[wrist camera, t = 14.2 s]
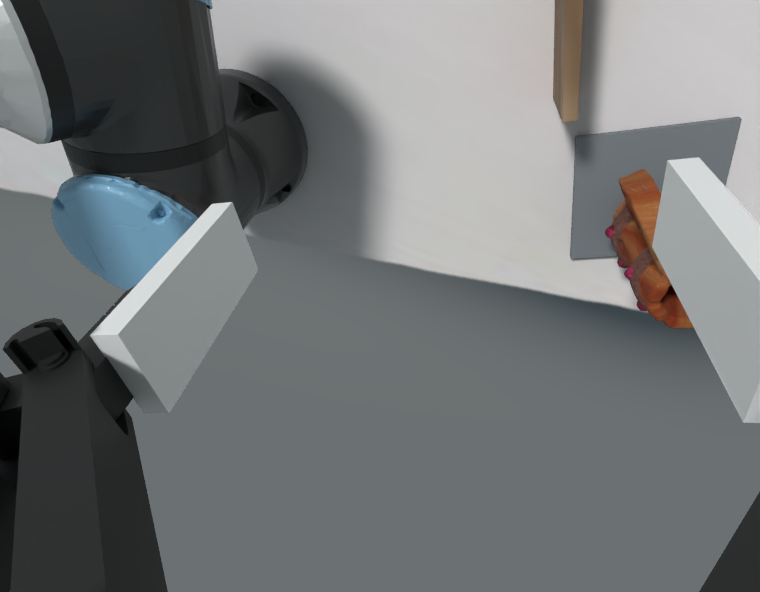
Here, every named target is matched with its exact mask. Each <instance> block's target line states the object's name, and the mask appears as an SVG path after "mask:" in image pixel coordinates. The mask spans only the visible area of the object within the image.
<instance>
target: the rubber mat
mask: <svg viewBox="0 0 760 592" xmlns="http://www.w3.org/2000/svg"><path fill="white" fill-rule="evenodd" d="M740 123H741V118H740V117H734V118H725V119H717V120H709V121H701V122H692V123H684V124H676V125H667V126H659V127H651V128H642V129H634V130H626V131H618V132H609V133H601V134H593V135H584V136H576V144H575V165H574V186H573V207H572V228H571V249H570V257H571V259H577V258H592V257H608V256H617V254H616V252H615V250H614V248H613V245H612V242H611V238H608V237H607V236H606V235H605V230H606V229H607V228H608V227H609V226H611V225H612V223H613V221H614V220H613V215H614V212H615V210H616V208H617V207H618V206H619V204H620V203H621V202H623V201H624V200H625V198H624V195H623V193H622V191H621V187H620V185H619V179H620V178H623V177H625V176H628V175H630V174H632V173H634V172H636V171H638V170H641V169H644V170H646V171H647V172H648V173H649V174H650V175H651V177H652V178H653V179H654V181H655V183H656V185H657V187H658V189H659V191H662V188H663V182H664V177H665V171H666V165H667V160H676V159H686V158H697V157H699V158H700V159H701V160H702V161H703V162H704V163H705V165H706V166H707V167H708V168H709V169H710V170H711V171H712V172H713V173H714V174H715V176H716V177H717V178H718V179H719V180H720V181H721V182H722V183H723V184H724V186H725V185H726V181H727V177H728V173H729V168H730V164H731V160H732V156H733V152H734V148H735V144H736V139H737V135H738V131H739V127H740Z"/></svg>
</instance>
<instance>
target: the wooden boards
mask: <svg viewBox="0 0 760 592" xmlns="http://www.w3.org/2000/svg"><path fill="white" fill-rule="evenodd" d="M583 4H584V0H555V28H554V79H553V99H554V102H555V104H556V107H557V109H558V112H559V115H560V117H561V120H562V122H570V121H577V120H578V106H579V86H580V65H581V45H582V25H583Z"/></svg>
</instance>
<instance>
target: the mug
mask: <svg viewBox="0 0 760 592" xmlns="http://www.w3.org/2000/svg"><path fill="white" fill-rule="evenodd" d="M619 185H620V187H621V191H622V193H623V195H624V198H625V200H624V201H623V202H621V203H620V204H619V206H618V207H617V208H616V210H615V212H614V215H613V220H614V221H613V223H612V225H611V226H609V227H608V228H607V229H606V230H605V235H606V236H607V237H608V238H611V242H612V245H613V248H614V250H615V252H616V254H617V256H618V257H619V259H618V262H617V263H618V265H619V267H622V268H627V267H629V268H628V269H627V270H626V271H625V273H624V275H625V276H626V278H628V279H629V280H630V284H631V287H632V289H633V292H634V294H635V296H636V298H637V300H638V302H637V307H638V308H639V309H640V310H641V311H647V310H648V312H649V314H650V315H651V316H653V317H654V318H655V319H656V320H657V321H664V323H665V325H667V326H669V327H671V328H681V329H686V328H694V327H693V325H692V323H691V321H690V319H689V317H688V315H687V313H686V311H685V309H684V307H683V305H682V304H681V302H680V300H679V298H678V296H677V294H676V292H675V290H674V288H673V286H672V284H671V282H670V280H669V278H668V277H667V275H666V273H665V271H664V269H663V267H662V265H661V263H660V261H659V259H658V257H657V255H656V253H655V251H654V250H653V248H652V244H653V238H654V233H655V227H656V222H657V216H658V210H659V205H660V199H661V193H662V191H659V189H658V187H657V185H656V183H655V181H654V179H653V178H652V177H651V175H650V174H649V173H648V172H647V171H646V170H644V169H641V170H638V171H636V172H634V173H632V174H630V175H628V176H625V177H623V178H620V179H619Z"/></svg>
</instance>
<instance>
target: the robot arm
mask: <svg viewBox="0 0 760 592" xmlns="http://www.w3.org/2000/svg"><path fill="white" fill-rule="evenodd" d="M210 9H212V2H211V0H0V128H5V129H7V130H9V131H11V132H13V133H15V134H18V135H20V136H22V137H24V138H26V139H28V140H30V141H32V142H34V143H36V144H45V143H50V142H55V141H59V140H61V141H62V144H63V147H64V150H65V152H66V155H67V158H68V161H69V164H70V166H71V169H72V172H73V176H74V177H72V178H70V179H68V180H67V181H65V182H64V183H63V184H62V185H61V186H60V188H59V191H58V193H57V197H56V198H55V199H54V200H53V203H52V210H51V212H52V219H53V224H54V227H55V229H56V231H57V233H58V235H59V237H60V239H61V240H62V242H63V243H64V245H65V246H66V248H67V249H68V250H69V251H70V253H71V254H72V255H73V256H74V257H75V258H76V259H77V260H78V261H79V262H80V263H81V264H83V265H84V266H85V267H86V268H87V269H89V270H90V271H91V272H93V273H94V274H96V275H98V276H100V277H102V278H103V279H104V280H106V281H107V282H108V283H110V284H112V285H114V286H116V287H118V288H121V289H123V290H126V292H125V293H124V294H123V295H122V296H121V297H120V298H119V300H118V301H117V302H116V303H115V306H112V307H111V308H110V309H109V310H108V311H107V312H106V315H103V317H102V318H101V319H100V320H99V321H98V322H97V323H96V324H95V325H94V326H93V327H92V328H91V329H90V330H89V331H88V333H87V334H86V335H85V336H84V337H83V338H82V339H81V340H80V341H79V342H78V343H77V341H76V340H75V338H74V337H73V336H72V334H71V333H70V332H69V330H68V329H67V327H66V326H65V325H64V323H63V322H62V320H60V319H55V318H52V319H45V320H41V321H38V322H35V323H33V324H31V325H29V326H27V327H25V328H23V329H21V330H20V331H19V332H17V333H16V334H14V335H13V336H12V337H11V338H10V339H9V340H8V341H7V342H6V343H5V345H4V348H3V350H4V352H5V353H6V354H7V355H8V356H9V357H10V359H11V360H12V361H13V362H14V363H15V364H16V366H17V367H18V368H19V369H20V370H21V371H22V373H23V374H19V375H15V376H11V377H8V378H5V377H4V376H3V375H2V374H1V373H0V592H168V591H167V586H166V582H165V576H164V571H163V567H162V562H161V557H160V552H159V547H158V542H157V538H156V533H155V529H154V523H153V518H152V514H151V509H150V504H149V499H148V494H147V489H146V484H145V480H144V475H143V470H142V465H141V460H140V455H139V451H138V446H137V441H136V436H135V431H134V427H133V422H132V418H131V416H130V415H129V413H128V412H127V410H126V409H125V408H126V407H127V406H128V404H129V403H130V401H131V400H132V399H133V398H134V399H135V401H136V403H137V404H138V405H139V407H140V408H141V410H142V411H143V413H170V411H171V409H172V408H173V406H174V405H175V403H176V401H177V399H178V398H179V397H180V395H181V393H182V392H183V390H184V389H185V387H186V385H187V384H188V382H189V381H190V379H191V377H192V376H193V374H194V373H195V371H196V369H197V368H198V366H199V365H200V363H201V361H202V360H203V358H204V357H205V355H206V353H207V352H208V350H209V349H210V347H211V345H212V344H213V342H214V341H215V339H216V337H217V336H218V334H219V333H220V331H221V329H222V328H223V326H224V325H225V323H226V321H227V320H228V318H229V317H230V315H231V313H232V312H233V310H234V308H235V307H236V305H237V304H238V302H239V301H240V299H241V297H242V296H243V294H244V292H245V291H246V289H247V288H248V286H249V285H250V283H251V281H252V280H253V278H254V276H255V275H256V273H257V272H258V267H257V265H256V262H255V259H254V257H253V254H252V252H251V249H250V246H249V244H248V241H247V239H246V236H245V233H244V231H243V230H244V228H245V227H246V226H247V224H248V223H249V222H250V220H251V219H252V218H253V216H254V215H256V214H258V213H261V212H263V211H266V210H268V209H271V208H273V207H275V206H277V205H279V204H280V203H282V202H283V201H284V200H285V199H286V198H288V197H289V196H290V194H291V193H292V192H293V191H294V189H295V188H296V186H297V185H298V183H299V182H300V180H301V178H302V176H303V174H304V171H305V168H306V163H307V142H306V137H305V133H304V130H303V127H302V124H301V122H300V120H299V118H298V116H297V114H296V112H295V111H294V109H293V108H292V106H291V105H290V103H289V102H288V101H287V100H286V99H285V98H284V96H283V95H282V94H281V93H280V92H279V91H277V90H276V89H275V88H274V87H273V86H271V85H270V84H269V83H267V82H266V81H264V80H262V79H260V78H259V77H257V76H254V75H252V74H249V73H247V72H243V71H239V70H233V69H218V62H217V55H216V49H215V42H214V35H213V28H212V22H211V15H210ZM652 248H653V250H654V251H655V253H656V255H657V257H658V259H659V261H660V263H661V265H662V267H663V269H664V271H665V273H666V275H667V277H668V278H669V280H670V282H671V284H672V286H673V288H674V290H675V292H676V294H677V296H678V298H679V300H680V302H681V304H682V305H683V307H684V309H685V311H686V313H687V315H688V317H689V319H690V321H691V323H692V325H693V327H694V329H695V331H696V333H697V334H698V336H699V338H700V340H701V342H702V344H703V346H704V348H705V350H706V352H707V353H708V355H709V358H710V359H711V361H712V363H713V365H714V367H715V369H716V371H717V373H718V375H719V377H720V379H721V381H722V383H723V385H724V387H725V388H726V390H727V392H728V394H729V396H730V398H731V400H732V402H733V404H734V406H735V408H736V409H737V411H738V413H739V415H740V417H741V419H742V421H743V423H760V224H759V223H758V222H757V221H756V220H755V219H754V218H753V217H752V215H751V214H750V213H749V212H748V211H747V210H746V209H745V208H744V207H743V205H742V204H741V203H740V202H739V201H738V200H737V199H736V198H735V197H734V195H733V194H732V193H731V192H730V191H729V190H728V189H727V188H726V187H725V186H724V184H723V183H722V182H721V181H720V180H719V179H718V178H717V177H716V176H715V174H714V173H713V172H712V171H711V170H710V169H709V168H708V167H707V166H706V165H705V163H704V162H703V161H702V160H701V159H700V158H699V157H697V158H686V159H676V160H667V165H666V171H665V177H664V182H663V188H662V193H661V199H660V205H659V210H658V216H657V222H656V227H655V233H654V238H653V244H652ZM699 592H760V492H759V494H758V496H757V497H756V499H755V501H754V502H753V504H752V506H751V507H750V509H749V511H748V512H747V514H746V515H745V517H744V519H743V520H742V522H741V524H740V525H739V527H738V529H737V530H736V532H735V534H734V535H733V537H732V539H731V540H730V542H729V544H728V545H727V547H726V549H725V550H724V552H723V554H722V555H721V557H720V558H719V560H718V562H717V563H716V565H715V567H714V568H713V570H712V572H711V573H710V575H709V577H708V578H707V580H706V581H705V583H704V585H703V586H702V588H701V590H700V591H699Z"/></svg>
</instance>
